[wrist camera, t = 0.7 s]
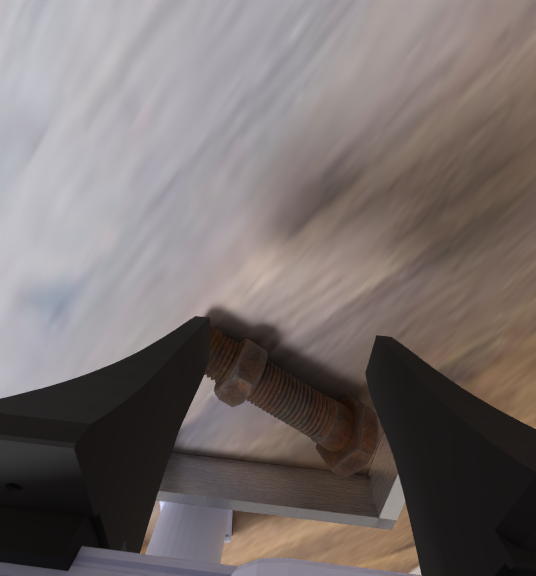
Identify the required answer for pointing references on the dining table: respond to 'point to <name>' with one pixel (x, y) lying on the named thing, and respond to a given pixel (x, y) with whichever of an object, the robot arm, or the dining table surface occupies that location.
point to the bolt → (293, 403)
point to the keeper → (288, 489)
